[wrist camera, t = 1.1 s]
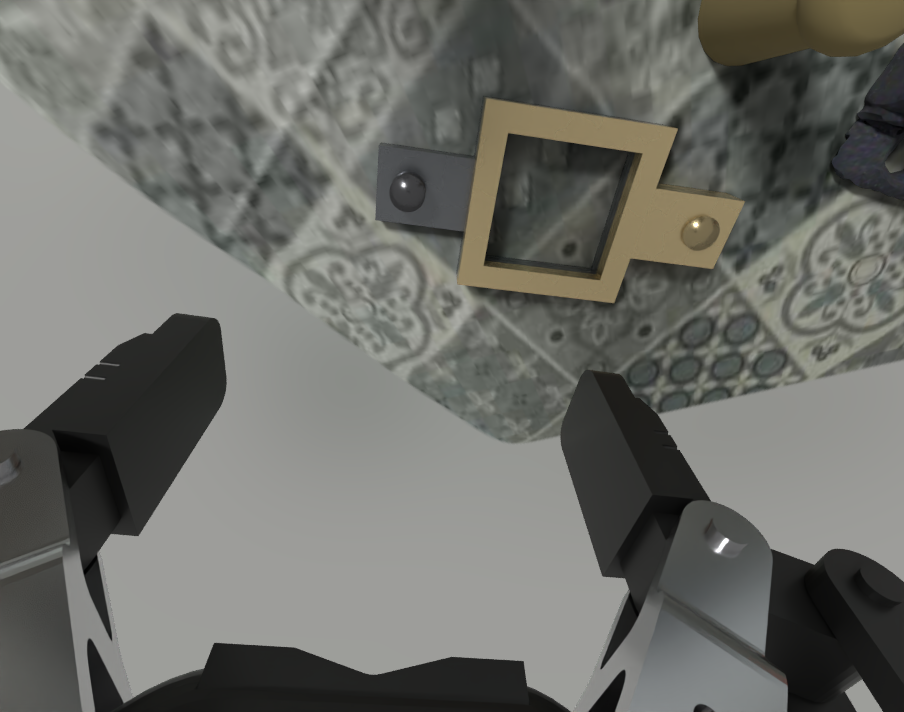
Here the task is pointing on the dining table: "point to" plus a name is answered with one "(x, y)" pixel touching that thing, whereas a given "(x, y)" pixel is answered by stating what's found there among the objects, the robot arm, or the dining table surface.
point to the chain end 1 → (451, 192)
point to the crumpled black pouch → (877, 134)
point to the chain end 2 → (637, 217)
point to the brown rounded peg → (796, 27)
